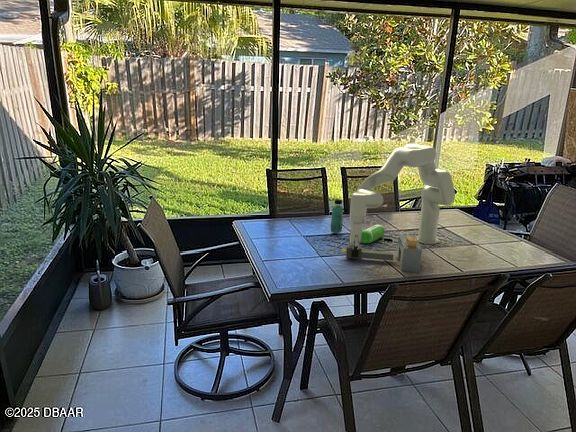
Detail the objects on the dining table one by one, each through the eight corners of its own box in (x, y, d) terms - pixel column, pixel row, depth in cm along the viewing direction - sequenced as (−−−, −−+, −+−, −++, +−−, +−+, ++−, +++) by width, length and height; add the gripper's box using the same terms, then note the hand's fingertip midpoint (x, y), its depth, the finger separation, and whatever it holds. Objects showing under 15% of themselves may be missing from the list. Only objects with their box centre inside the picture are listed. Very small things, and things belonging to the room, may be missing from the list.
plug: (342, 253, 207) (342, 244, 205) (392, 257, 203) (393, 247, 202) (341, 257, 202) (342, 247, 200) (393, 261, 199) (394, 251, 197)
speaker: (370, 245, 223) (371, 232, 221) (358, 242, 228) (359, 229, 226) (385, 237, 237) (386, 225, 235) (373, 235, 241) (374, 222, 239)
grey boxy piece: (396, 255, 211) (399, 228, 207) (412, 256, 210) (416, 229, 206) (401, 270, 191) (404, 241, 188) (419, 272, 190) (422, 243, 187)
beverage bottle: (328, 232, 242) (330, 198, 236) (338, 231, 244) (340, 198, 239) (333, 236, 236) (335, 201, 231) (343, 235, 238) (346, 200, 233)
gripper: (349, 213, 207) (347, 248, 212) (349, 223, 190) (346, 260, 196) (365, 214, 206) (362, 249, 211) (366, 224, 190) (363, 262, 195)
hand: (354, 254), depth 203 cm, fingers closed on plug, 5 cm apart
